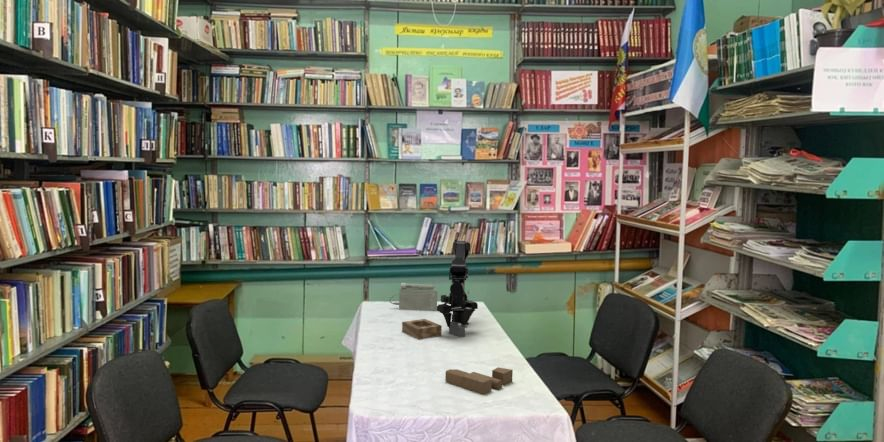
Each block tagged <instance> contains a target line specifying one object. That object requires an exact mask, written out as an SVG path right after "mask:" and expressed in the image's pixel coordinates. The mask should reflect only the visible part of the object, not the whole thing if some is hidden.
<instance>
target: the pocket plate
mask: <svg viewBox="0 0 884 442" xmlns="http://www.w3.org/2000/svg"><path fill="white" fill-rule="evenodd" d="M401 323H402V325H401V333H403V334H406V335H408V336H410V337H411V338H414V339H417V340H423V339H428V338H435V337H441V336H442V327H443V326H442V325H441V324H438V323H436V322H433V321H431V320H429V319H427V318H422V319H421V318H420V319H413V320H407V321H402V322H401Z"/></svg>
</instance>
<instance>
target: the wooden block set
mask: <svg viewBox="0 0 884 442" xmlns="http://www.w3.org/2000/svg"><path fill="white" fill-rule="evenodd" d="M491 372H492V373H491V374H492V375H491V376H490V375H485V374H481V373H478V372H476V371H472V372H467V371H463V370H460V369H455V368H454V369H450V368H449V369H447V370H445V375H444V376H445V383H449V384H450V385H451V384H452V385H454V386H458V387H460V388H462V389H464V390H468V391H471V392H473V393H478V394H480V395H486V394H489V393H490V392H492V388H493V389H497V390H500V389H502V387H503V386H502V385H504V386H505V385H508V384H510V382H511V383H512V382H513V369H509V368H506V367H505V368H504V367H496V368H494V369H492V370H491Z"/></svg>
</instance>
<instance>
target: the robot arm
mask: <svg viewBox="0 0 884 442" xmlns="http://www.w3.org/2000/svg"><path fill="white" fill-rule="evenodd" d="M471 249H472V245H471V243H470V242H469V241H466V240H456V241H454V242H453V243H452V251H453V253H454V259H453V260H452V261H451V263H450V264H451V265H449V275H448V280H450V281H451V285H450V287H449V291H450V293H449V295H448V296H447V295H446V294H442V295H440V302H441V304H437V311H436V312H439V313H440V314H442V315H443V318H444V320H445V323H446V326H447V328H449V327H450V323H451V322H454V321H455V322H457V323H461V324H462V325H465V326H467V325H469V321H470V319H471V317H472V315H473V313H474V312H475V311H476V310H477V309H479V308H478V306H479V305H478V302H476V301H474V300H472V299H471V300H470V299H468V295H467V293H466V292H465V286H466V285H465V283H466V281H467V279H469V268H468V266H467V261H466V260H467V259H468V258H469V257H470V252H472V251H471Z"/></svg>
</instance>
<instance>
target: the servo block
mask: <svg viewBox="0 0 884 442" xmlns="http://www.w3.org/2000/svg"><path fill="white" fill-rule="evenodd" d="M467 328H468V326H467V325H462V324H461V323H457V322H455V321H454V322H452V321H451V323H450V327H448V334H449V335H452V336H454V337H456V338H460V337H466V329H467Z"/></svg>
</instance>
